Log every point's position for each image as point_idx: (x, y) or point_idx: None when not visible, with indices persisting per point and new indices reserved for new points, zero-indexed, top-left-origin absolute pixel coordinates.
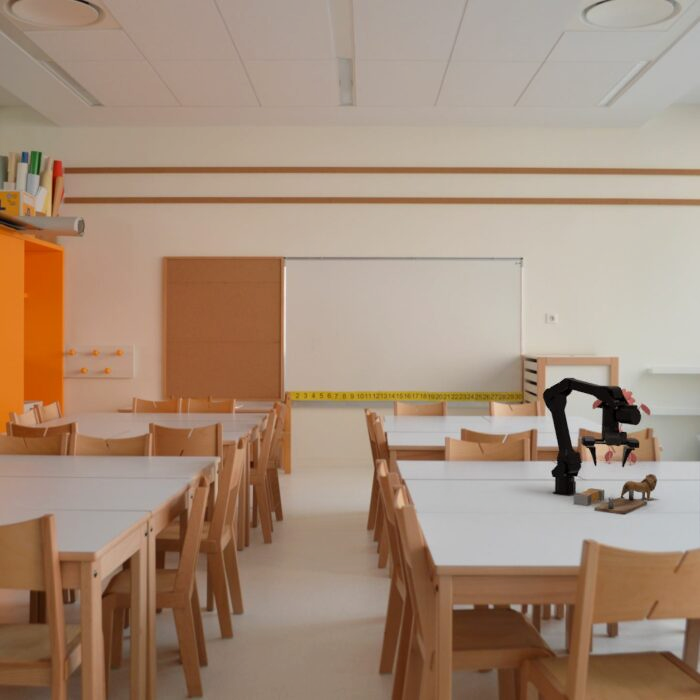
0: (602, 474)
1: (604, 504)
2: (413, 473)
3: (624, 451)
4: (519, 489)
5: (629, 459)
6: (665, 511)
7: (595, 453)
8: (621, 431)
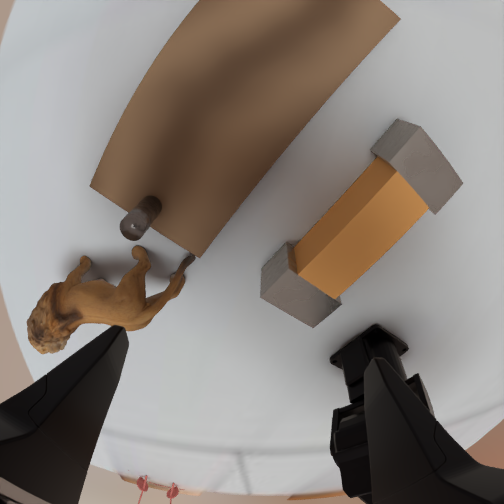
0: (191, 464)
1: (328, 79)
2: (494, 422)
3: (52, 460)
4: (451, 373)
5: (146, 482)
6: (61, 46)
7: (431, 457)
8: None
